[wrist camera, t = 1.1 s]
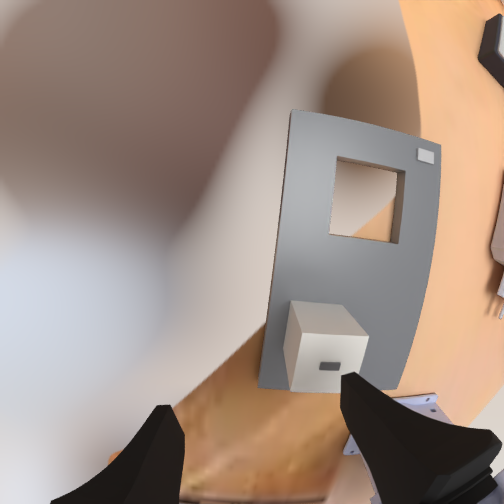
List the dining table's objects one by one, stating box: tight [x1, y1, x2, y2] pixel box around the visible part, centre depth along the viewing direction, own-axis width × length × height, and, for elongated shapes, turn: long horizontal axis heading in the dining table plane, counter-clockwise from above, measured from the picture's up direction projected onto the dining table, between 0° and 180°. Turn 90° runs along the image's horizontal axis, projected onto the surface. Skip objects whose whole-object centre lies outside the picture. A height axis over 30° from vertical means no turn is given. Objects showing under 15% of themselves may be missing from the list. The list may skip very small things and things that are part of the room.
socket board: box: [258, 109, 441, 390], centre depth 21 cm, size 13×22×2 cm, turn 174°
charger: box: [283, 300, 369, 393], centre depth 18 cm, size 4×4×6 cm
